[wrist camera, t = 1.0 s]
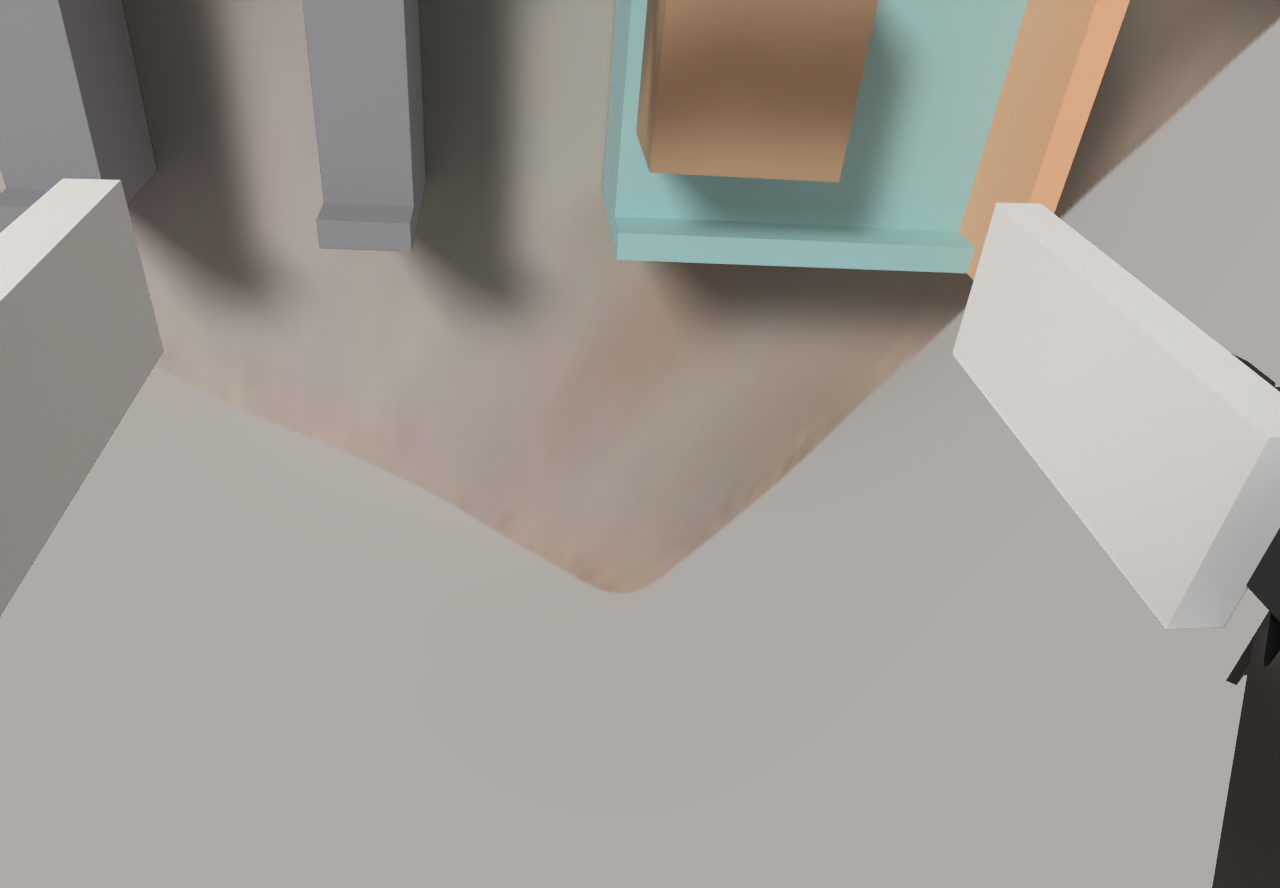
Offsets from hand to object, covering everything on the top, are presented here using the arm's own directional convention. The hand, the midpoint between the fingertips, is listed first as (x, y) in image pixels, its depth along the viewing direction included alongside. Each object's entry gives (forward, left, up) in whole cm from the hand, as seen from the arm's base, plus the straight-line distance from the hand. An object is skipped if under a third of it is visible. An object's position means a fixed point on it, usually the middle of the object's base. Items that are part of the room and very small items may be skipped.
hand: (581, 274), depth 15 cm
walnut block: (0, +6, -19) cm, 19 cm away
